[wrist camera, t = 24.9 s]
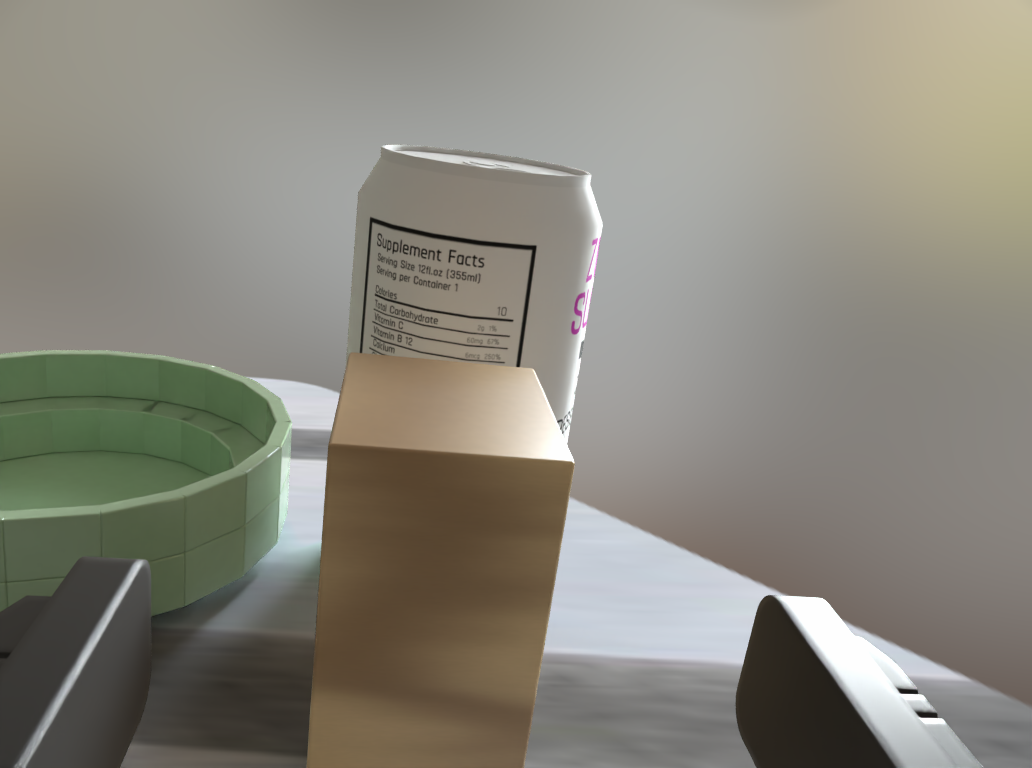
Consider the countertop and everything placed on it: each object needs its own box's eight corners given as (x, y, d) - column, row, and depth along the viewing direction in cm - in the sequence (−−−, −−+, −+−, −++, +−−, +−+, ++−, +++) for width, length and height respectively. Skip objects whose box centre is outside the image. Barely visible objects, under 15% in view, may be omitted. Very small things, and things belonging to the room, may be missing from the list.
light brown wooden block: (480, 738, 24) (534, 367, 21) (499, 916, 19) (575, 462, 15) (321, 734, 23) (349, 350, 20) (295, 918, 18) (327, 443, 15)
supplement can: (301, 523, 34) (324, 135, 29) (480, 495, 39) (524, 154, 34) (386, 638, 28) (432, 166, 23) (587, 589, 32) (660, 185, 28)
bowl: (256, 439, 41) (259, 350, 40) (319, 620, 28) (327, 498, 27) (-130, 454, 35) (-143, 348, 33) (-278, 697, 22) (-308, 541, 20)
